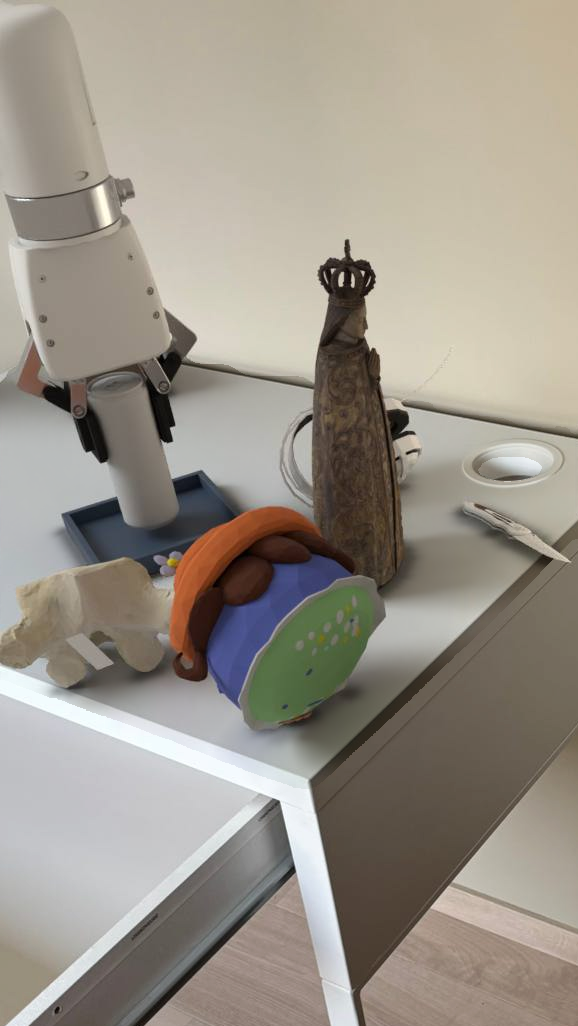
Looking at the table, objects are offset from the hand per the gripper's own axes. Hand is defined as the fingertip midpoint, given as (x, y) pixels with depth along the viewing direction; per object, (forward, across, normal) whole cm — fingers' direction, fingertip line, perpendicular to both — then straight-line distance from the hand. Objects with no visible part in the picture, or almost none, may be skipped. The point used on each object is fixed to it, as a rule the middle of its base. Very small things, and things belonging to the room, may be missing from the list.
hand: (131, 444), depth 99 cm
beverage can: (+7, 0, 0) cm, 7 cm away
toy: (+3, -2, +35) cm, 35 cm away
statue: (+8, -12, +17) cm, 23 cm away
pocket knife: (+7, -24, +20) cm, 32 cm away
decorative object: (+1, +11, +13) cm, 17 cm away
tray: (+8, 0, 0) cm, 8 cm away
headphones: (+8, -21, +3) cm, 23 cm away
